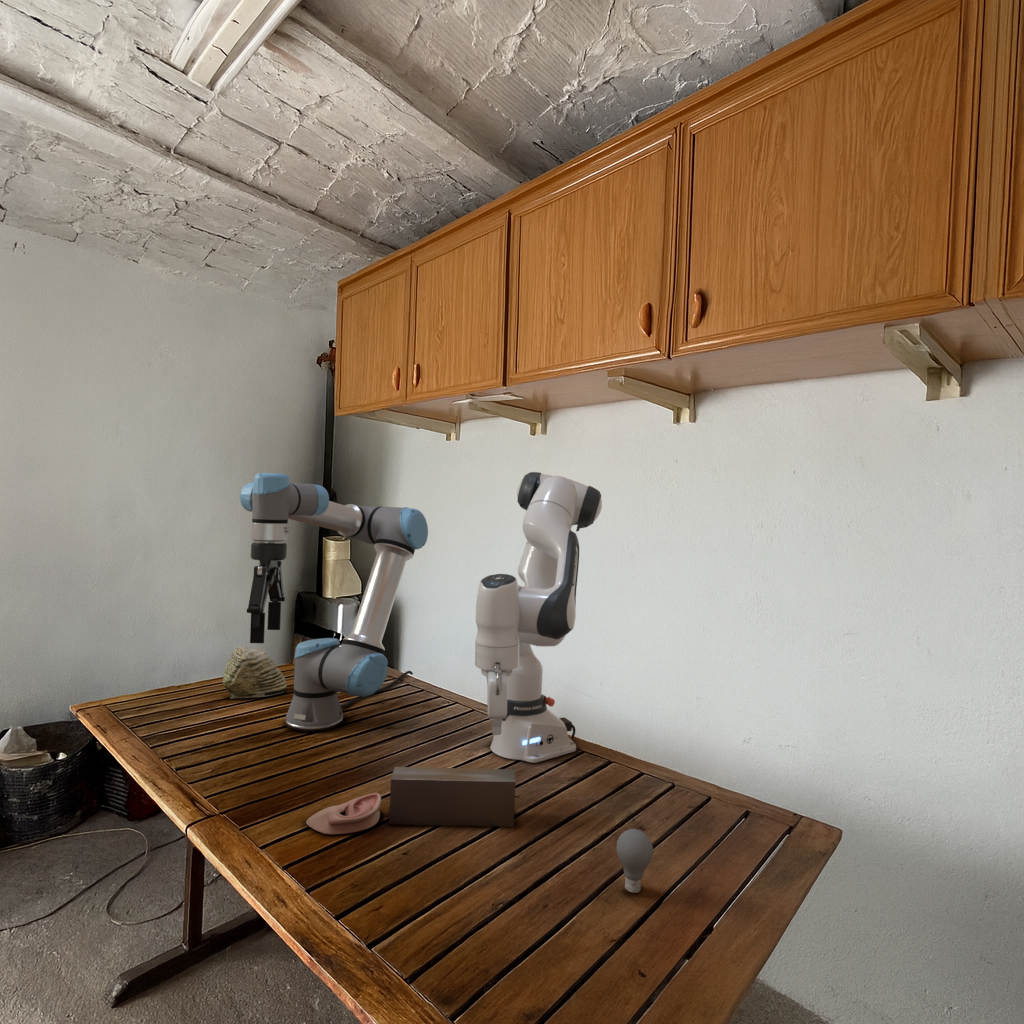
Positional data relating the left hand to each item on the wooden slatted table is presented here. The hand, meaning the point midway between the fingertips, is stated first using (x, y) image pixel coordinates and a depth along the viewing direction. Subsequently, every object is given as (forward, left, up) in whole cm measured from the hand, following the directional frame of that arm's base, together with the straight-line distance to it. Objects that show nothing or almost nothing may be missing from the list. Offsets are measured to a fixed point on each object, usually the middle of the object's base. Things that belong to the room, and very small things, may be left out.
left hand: (265, 636), depth 142 cm
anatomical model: (0, +30, -31) cm, 44 cm away
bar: (-16, +45, -31) cm, 57 cm away
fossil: (-28, -53, -31) cm, 68 cm away
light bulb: (-19, +84, -31) cm, 91 cm away
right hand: (-21, +51, -12) cm, 56 cm away
